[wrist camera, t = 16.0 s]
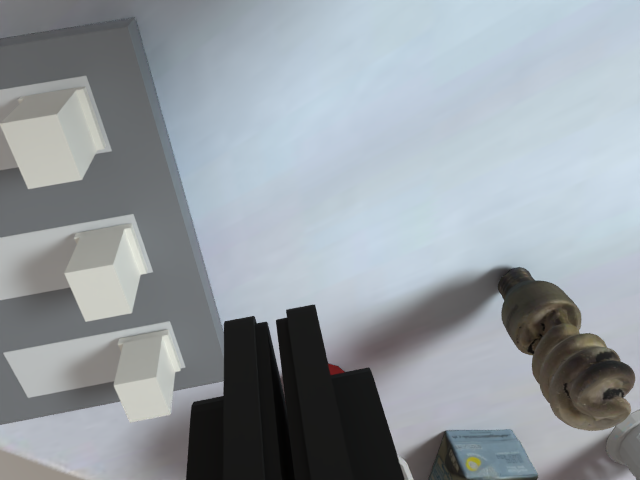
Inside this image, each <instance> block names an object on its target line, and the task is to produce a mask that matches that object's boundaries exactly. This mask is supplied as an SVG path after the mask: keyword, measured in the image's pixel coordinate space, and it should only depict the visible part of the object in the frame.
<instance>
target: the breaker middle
mask: <svg viewBox="0 0 640 480" xmlns="http://www.w3.org/2000/svg"><path fill="white" fill-rule="evenodd" d="M74 239H75V242H76V244H77V245H76V248H75V250H74V252H73V254H72V257H71V259H70V261H69V264H68V266H67V268H66V271H65V273H64V274H65V276H66V279H67V281H68V283H69V285H70V288H71V290H72V292H73V294H74V297H75V299H76V301H77V304H78V306H79V308H80V310H81V313H82V315H83V317H84V319H85V322H87V321H93V320H98V319H103V318H109V317H114V316H119V315H125V314H130V313H132V310H133V306H134V302H135V297H136V293H137V289H138V284H139V280H140V275H142V274H147V269H148V268H147V265H146V263H145V260H144V257H143V254H142V251H141V248H140V245H139V242H138V239H137V237H136V234H135V231H134V228H133V225H132V223H131V224H125V225H119V226H114V227H108V228H103V229H97V230H91V231H86V232H80V233H76V234H75V237H74Z"/></svg>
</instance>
